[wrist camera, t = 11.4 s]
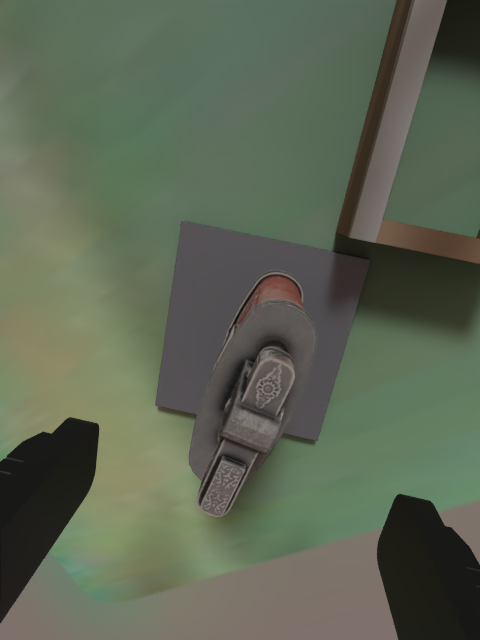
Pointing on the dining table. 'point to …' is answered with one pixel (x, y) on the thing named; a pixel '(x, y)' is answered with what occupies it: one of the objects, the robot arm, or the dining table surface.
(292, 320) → the lighter
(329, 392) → the mat
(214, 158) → the dining table surface
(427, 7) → the holder
